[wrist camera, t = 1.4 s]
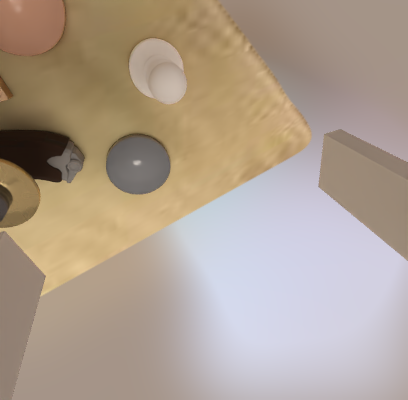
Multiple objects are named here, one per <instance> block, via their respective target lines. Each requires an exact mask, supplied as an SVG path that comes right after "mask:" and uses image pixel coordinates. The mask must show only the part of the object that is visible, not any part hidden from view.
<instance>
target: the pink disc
mask: <svg viewBox="0 0 408 400" xmlns="http://www.w3.org/2000/svg"><path fill="white" fill-rule="evenodd" d="M65 23H66V12H65V5H64V2H63V0H0V49H1V50H3V51H5V52H8V53H11V54H15V55H20V56H34V55H39V54H41V53H44V52H46V51H48V50H50V49H51V48H53V47H54V46H55V45H56V44H57V43H58V42H59V40H60V39H61V37H62V35H63V32H64V29H65Z"/></svg>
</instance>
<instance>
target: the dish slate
mask: <svg viewBox="0 0 408 400" xmlns="http://www.w3.org/2000/svg"><path fill="white" fill-rule="evenodd" d="M106 170H107V174H108V177H109V179H110V180H111V182H112V183H113V184H114V185H115V186H116V187H117V188H119V189H120V190H122V191H124V192H127V193H130V194H146V193H150V192H152V191H154V190H156V189H158V188H159V187H160V186H162V185H163V184H164V182H165V181H166V180H167V178H168V175H169V173H170V160H169V157H168V154H167V152H166V150H165V148H164V147H163V146H162V144H161V143H160V142H158V141H157V140H156V139H154V138H152V137H150V136H146V135H141V134H134V135H128V136H125V137H123V138H121V139H119V140H118V141H116V142H115V143H114V144H113V145H112V147H111V148H110V150H109V152H108V155H107V161H106Z"/></svg>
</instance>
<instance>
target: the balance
mask: <svg viewBox="0 0 408 400" xmlns="http://www.w3.org/2000/svg"><path fill="white" fill-rule="evenodd" d="M12 96H13V95H12V94H11V92H10V90H9V89H8V87H7V86H6V84H5V83H4V81H3V80H2V78H1V76H0V102H1V101H5V100H8V99H10V98H11V97H12ZM40 197H41V196H40V190H39V187H38V185H37V183H36V182H35V180H34V179H33V178H32V176H31V175H30V174H29V173H28V172H26V171H25V170H24V169H22V168H21V167H19V166H18V165H16V164H14V163H12V162H9V161H7V160H4V159H0V228H7V227H13V226H17V225H19V224H22V223H24V222H26V221H27V220H29V219H30V218H31V217H32V216H33V215H34V214H35V212H36V211H37V208H38V206H39V203H40Z"/></svg>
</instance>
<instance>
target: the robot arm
mask: <svg viewBox="0 0 408 400" xmlns="http://www.w3.org/2000/svg"><path fill="white" fill-rule="evenodd" d="M319 187H320V188H321V189H322V190H323V191H324V192H325V193H327V194H328V195H329V196H330V197H331V198H333V199H334V200H335V201H336V202H338V203H339V204H340V205H341V206H342V207H344V208H345V209H346V210H347V211H348V212H350V213H351V214H352V215H353V216H354V217H356V218H357V219H358V220H359V221H360V222H362V223H363V224H364V225H365V226H367V227H368V228H369V229H370V230H371V231H372V232H374V233H375V234H376V235H377V236H378V237H380V238H381V239H382V240H383V241H385V242H386V243H387V244H388V245H389V246H391V247H392V248H393V249H394V250H395V251H397V252H398V253H399V254H400V255H401V256H403V257H404V258H405V259H406V260H407V261H408V162H406V161H404V160H402V159H400V158H398V157H396V156H393V155H392V154H390V153H388V152H386V151H384V150H382V149H380V148H378V147H375V146H373V145H371V144H369V143H367V142H365V141H363V140H361V139H359V138H357V137H355V136H353V135H351V134H349V133H347V132H345V131H343V130H341V129H340V130H336V131H333V132H330V133H326V134H324V141H323V150H322V159H321V169H320V177H319ZM45 277H46V276H45V275H44V274H43V273H42V271H41V270H40V269H39V268H38V267H37V266H36V265H35V264H34V263H33V261H32V260H31V259H30V258H29V257H28V256H27V255H26V254H25V253H24V252H23V250H22V249H21V248H20V247H19V246H18V245H17V244H16V243H15V242H14V240H13V239H12V238H11V237H10V236H9V235H8V234H7V233H6V232H5V231H3V232H0V400H11V399H12V396H13V392H14V389H15V385H16V381H17V377H18V374H19V370H20V367H21V363H22V360H23V356H24V352H25V349H26V345H27V342H28V338H29V334H30V331H31V327H32V324H33V320H34V316H35V313H36V309H37V305H38V302H39V298H40V295H41V291H42V288H43V284H44V280H45Z"/></svg>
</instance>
